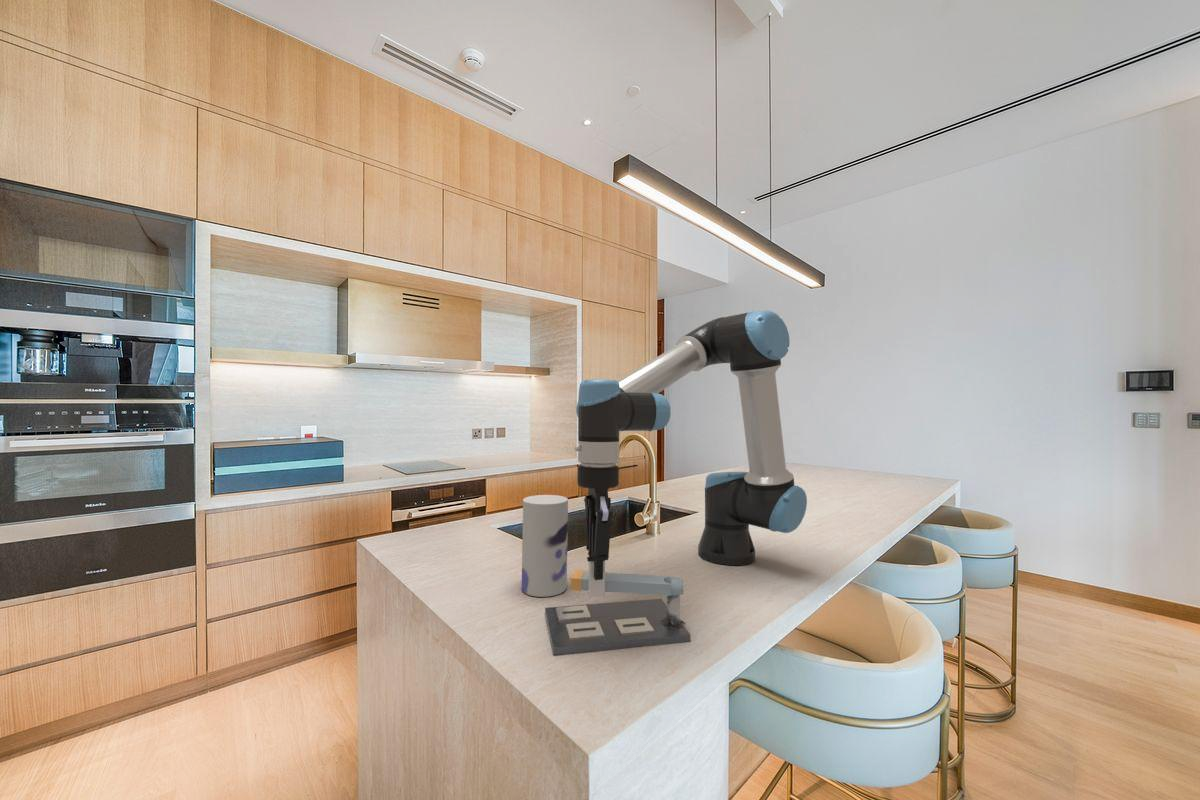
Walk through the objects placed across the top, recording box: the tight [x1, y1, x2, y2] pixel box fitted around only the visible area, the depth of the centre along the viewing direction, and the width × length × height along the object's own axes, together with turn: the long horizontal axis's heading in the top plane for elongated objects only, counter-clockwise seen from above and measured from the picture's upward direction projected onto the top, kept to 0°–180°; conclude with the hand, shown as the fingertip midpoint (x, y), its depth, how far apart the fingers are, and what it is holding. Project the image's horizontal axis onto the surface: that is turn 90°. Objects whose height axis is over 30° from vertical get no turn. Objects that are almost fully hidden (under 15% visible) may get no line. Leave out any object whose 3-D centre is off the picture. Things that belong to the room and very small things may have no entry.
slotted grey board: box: [544, 598, 692, 656], centre depth 84 cm, size 24×15×2 cm, turn 102°
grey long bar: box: [570, 569, 685, 597], centre depth 85 cm, size 21×4×2 cm, turn 83°
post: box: [661, 595, 686, 629], centre depth 84 cm, size 4×4×7 cm
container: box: [521, 494, 569, 598], centre depth 102 cm, size 10×10×20 cm
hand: (596, 595), depth 82 cm, fingers closed
